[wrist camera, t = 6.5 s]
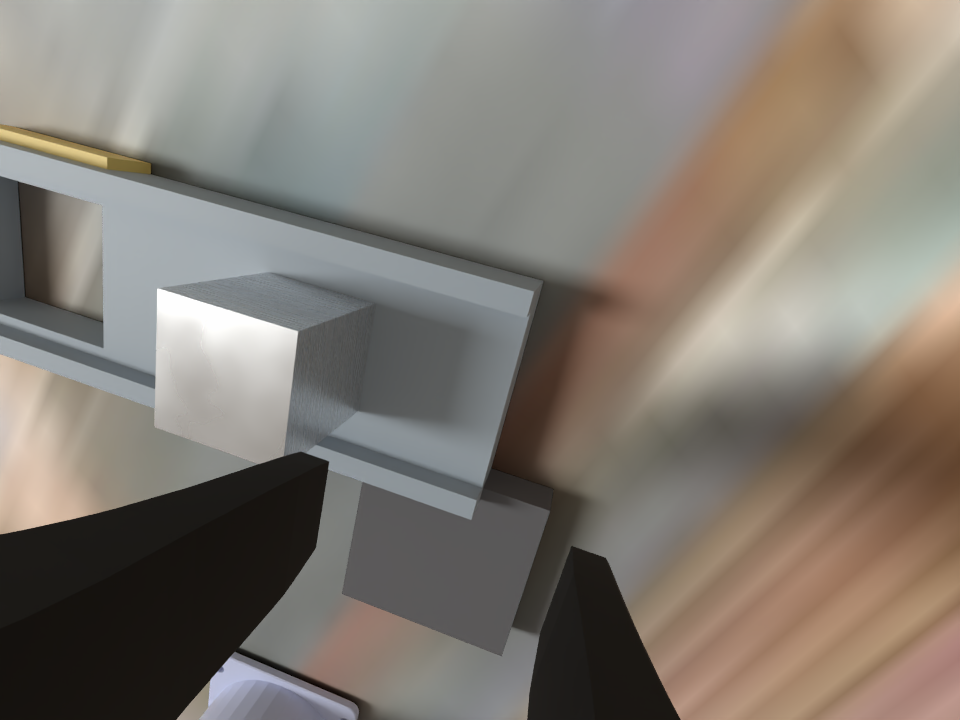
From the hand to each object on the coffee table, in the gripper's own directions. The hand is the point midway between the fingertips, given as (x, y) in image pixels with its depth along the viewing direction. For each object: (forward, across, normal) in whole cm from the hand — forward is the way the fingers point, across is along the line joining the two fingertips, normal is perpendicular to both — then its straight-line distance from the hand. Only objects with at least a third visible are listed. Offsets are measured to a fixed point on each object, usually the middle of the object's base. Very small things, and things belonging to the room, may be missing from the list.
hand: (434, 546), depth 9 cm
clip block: (+7, +7, 0) cm, 10 cm away
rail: (+9, +12, 0) cm, 15 cm away
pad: (+9, +1, +7) cm, 12 cm away
